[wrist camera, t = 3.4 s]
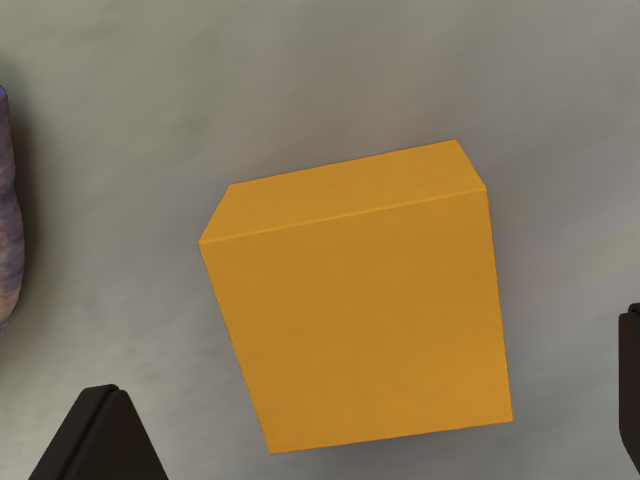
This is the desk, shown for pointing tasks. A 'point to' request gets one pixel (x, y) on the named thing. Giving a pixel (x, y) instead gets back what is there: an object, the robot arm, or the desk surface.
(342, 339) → the small orange block
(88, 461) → the robot arm
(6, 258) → the decorative rock
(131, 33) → the desk surface
